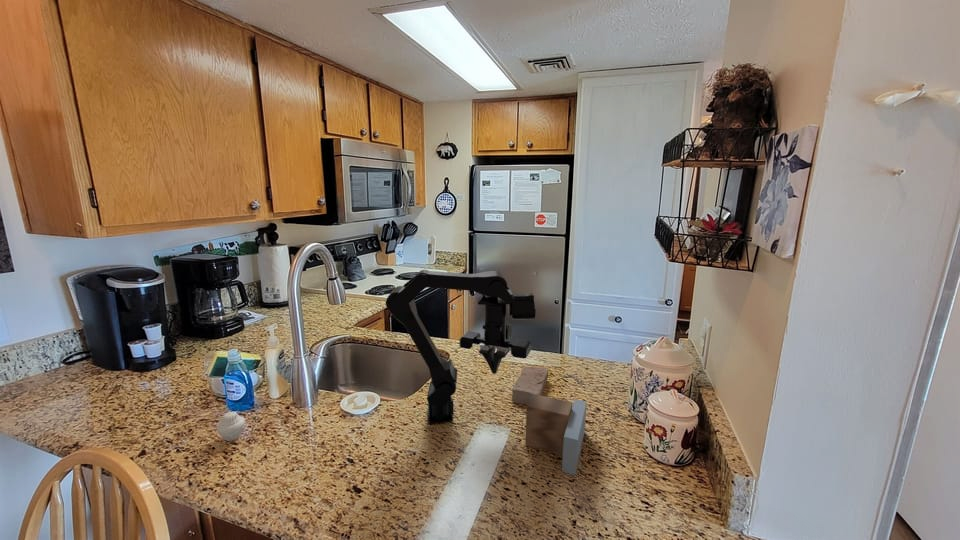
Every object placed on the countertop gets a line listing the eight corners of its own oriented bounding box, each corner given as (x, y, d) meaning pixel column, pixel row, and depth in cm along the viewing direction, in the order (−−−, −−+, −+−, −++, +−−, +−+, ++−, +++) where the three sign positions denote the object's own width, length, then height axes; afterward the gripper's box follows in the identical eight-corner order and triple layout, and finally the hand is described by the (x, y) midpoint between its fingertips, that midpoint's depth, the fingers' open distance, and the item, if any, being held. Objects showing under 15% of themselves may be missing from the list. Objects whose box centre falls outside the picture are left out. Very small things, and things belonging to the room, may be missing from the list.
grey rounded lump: (251, 434, 98) (247, 410, 96) (225, 448, 93) (221, 423, 91) (240, 426, 101) (236, 403, 100) (214, 439, 96) (209, 414, 95)
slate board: (561, 471, 85) (563, 436, 83) (572, 429, 100) (574, 399, 98) (575, 475, 84) (577, 440, 82) (584, 432, 99) (586, 401, 97)
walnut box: (525, 445, 94) (526, 406, 91) (531, 431, 99) (532, 393, 97) (565, 456, 90) (568, 415, 88) (569, 440, 96) (572, 402, 93)
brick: (538, 408, 110) (539, 393, 109) (510, 402, 113) (511, 388, 112) (548, 381, 125) (548, 368, 124) (523, 377, 128) (523, 364, 127)
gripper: (537, 314, 103) (535, 366, 107) (474, 306, 110) (474, 355, 114) (526, 328, 93) (524, 385, 97) (458, 318, 100) (459, 372, 104)
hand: (494, 373), depth 103 cm, fingers closed
